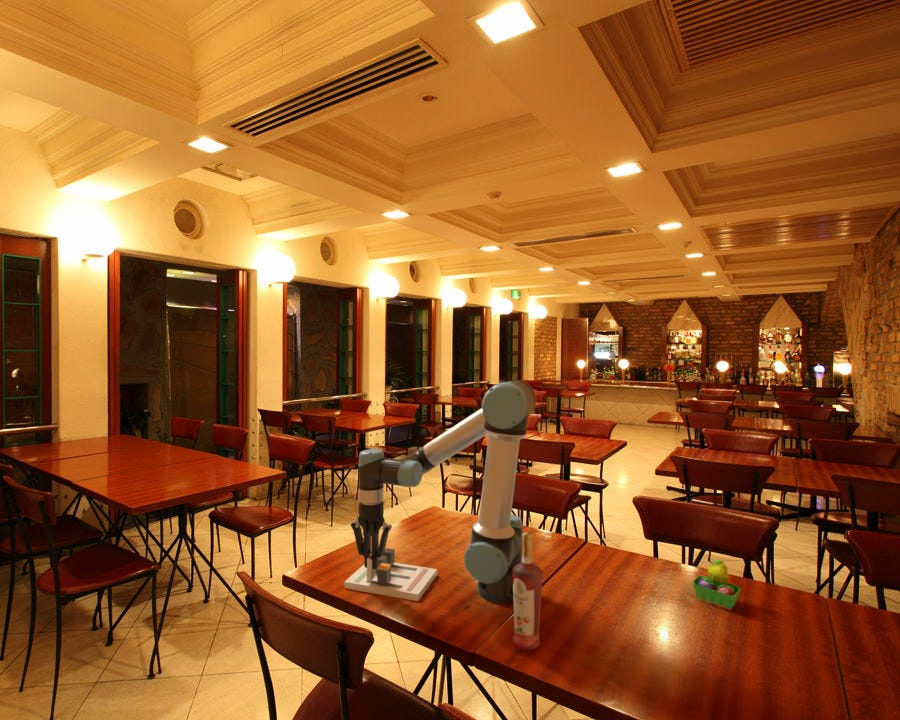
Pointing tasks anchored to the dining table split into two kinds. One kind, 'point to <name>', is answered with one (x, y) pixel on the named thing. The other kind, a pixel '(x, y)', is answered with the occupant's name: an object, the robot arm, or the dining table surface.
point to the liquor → (527, 598)
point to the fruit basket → (716, 586)
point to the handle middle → (381, 560)
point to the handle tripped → (384, 574)
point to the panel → (395, 581)
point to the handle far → (390, 555)
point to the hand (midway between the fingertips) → (371, 578)
